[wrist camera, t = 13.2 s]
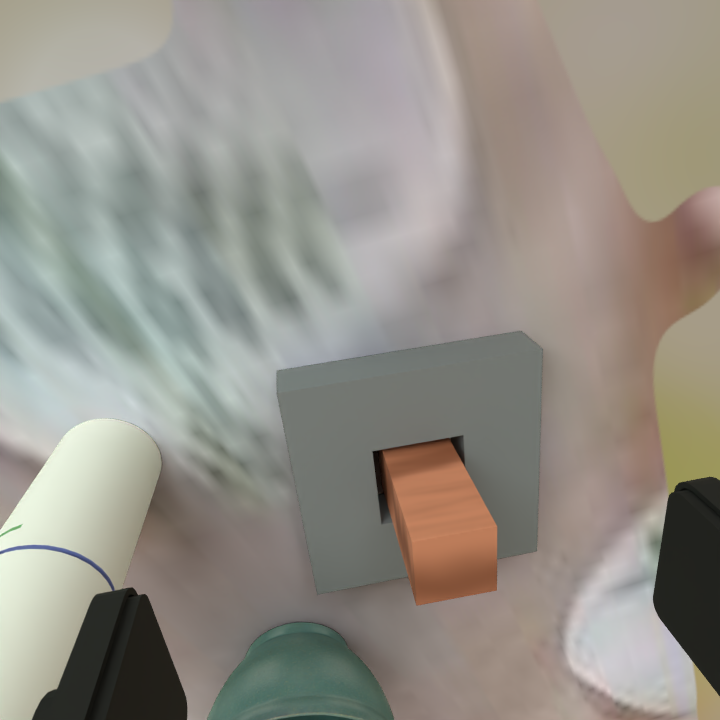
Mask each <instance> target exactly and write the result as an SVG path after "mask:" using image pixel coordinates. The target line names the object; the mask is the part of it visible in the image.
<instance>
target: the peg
mask: <svg viewBox="0 0 720 720" xmlns="http://www.w3.org/2000/svg"><path fill="white" fill-rule="evenodd" d="M378 453H379V463H380V473H381V483H382V488H383V491H384V494H385V498H386V501H387V505H388V508H389V512H390V515H391V519H392V522H393V525H394V529H395V532H396V536H397V539H398V543H399V546H400V550H401V553H402V556H403V560H404V563H405V567H406V570H407V574H408V577H409V581H410V584H411V587H412V591H413V594H414V598H415V601H416V605H422V604H428V603H433V602H438V601H443V600H449V599H454V598H459V597H464V596H470V595H475V594H480V593H485V592H491V591H496V590H497V525H496V523H495V521H494V520H493V518H492V516H491V514H490V512H489V510H488V509H487V507H486V505H485V503H484V501H483V499H482V498H481V496H480V494H479V492H478V490H477V488H476V487H475V485H474V483H473V481H472V479H471V477H470V476H469V474H468V472H467V470H466V468H465V466H464V465H463V463H462V461H461V459H460V457H459V456H458V454H457V452H456V450H455V448H454V446H453V445H452V443H451V441H450V439H449V438H445V439H439V440H433V441H428V442H422V443H416V444H411V445H405V446H399V447H394V448H388V449H382V450H378Z"/></svg>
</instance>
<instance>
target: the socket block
mask: <svg viewBox="0 0 720 720" xmlns="http://www.w3.org/2000/svg"><path fill="white" fill-rule="evenodd" d="M542 358H543V349H542V348H541V347H540V346H539V345H537V344H536V343H535V342H534V341H533V340H532V339H530V338H529V337H528V336H527V335H526V334H525V333H523V332H522V331H518V332H512V333H505V334H499V335H493V336H487V337H481V338H475V339H469V340H462V341H456V342H450V343H444V344H438V345H432V346H426V347H419V348H413V349H407V350H401V351H395V352H389V353H383V354H376V355H370V356H364V357H358V358H352V359H346V360H340V361H333V362H327V363H321V364H315V365H309V366H303V367H297V368H290V369H284V370H278V371H277V397H278V402H279V407H280V412H281V417H282V422H283V427H284V432H285V437H286V442H287V447H288V452H289V457H290V462H291V466H292V471H293V476H294V481H295V486H296V491H297V496H298V501H299V506H300V511H301V516H302V521H303V526H304V531H305V536H306V541H307V546H308V551H309V556H310V561H311V566H312V571H313V576H314V581H315V586H316V591H317V595H318V594H323V593H328V592H333V591H338V590H344V589H349V588H354V587H359V586H364V585H369V584H374V583H379V582H384V581H389V580H394V579H399V578H404V577H408V574H407V570H406V567H405V563H404V560H403V556H402V553H401V550H400V546H399V543H398V539H397V536H396V532H395V529H394V525H393V522H392V519H391V515H390V512H389V508H388V505H387V501H386V498H385V494H380V495H378V492H377V484H376V476H375V468H374V460H373V452H372V451H377V450H382V449H388V448H394V447H399V446H405V445H411V444H416V443H422V442H428V441H433V440H439V439H445V438H450V437H451V443H452V445H453V446H454V448H455V450H456V452H457V454H458V456H459V457H460V459H461V461H462V463H463V465H464V466H465V468H466V470H467V472H468V474H469V476H470V477H471V479H472V481H473V483H474V485H475V487H476V488H477V490H478V492H479V494H480V496H481V498H482V499H483V501H484V503H485V505H486V507H487V509H488V510H489V512H490V514H491V516H492V518H493V520H494V521H495V523H496V525H497V559H501V558H506V557H511V556H516V555H521V554H526V553H531V552H536V551H537V533H538V498H539V463H540V428H541V393H542Z"/></svg>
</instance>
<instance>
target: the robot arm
mask: <svg viewBox="0 0 720 720" xmlns="http://www.w3.org/2000/svg"><path fill="white" fill-rule="evenodd" d="M653 603H654V607H655V610H656V612H657V614H658V616H659V618H660V619H661V621H662V622H663V623H664V625H665V626H666V627H667V629H668V630H669V631H670V632H671V634H672V635H673V636H674V638H675V639H676V640H677V641H678V643H679V644H680V645H681V647H682V648H683V649H684V651H685V652H686V653H687V654H688V656H689V657H690V658H691V660H692V661H693V662H694V664H695V665H696V666H697V667H698V669H699V670H700V671H701V673H702V674H703V675H704V676H705V677H706V679H707V680H708V682H709V683H710V684H711V686H712V687H713V688H714V689H715V691H716V692H717V693H718V695H719V696H720V480H718V479H717V478H713V477H707V478H701V479H696V480H691V481H686V482H681V483H679V484H678V485H677V486H676V488H675V491H674V492H673V493H671V494H670V495H669V498H668V503H667V509H666V516H665V522H664V529H663V536H662V542H661V549H660V555H659V562H658V568H657V575H656V582H655V588H654V595H653ZM32 720H187V701H186V696H185V693H184V690H183V688H182V685H181V682H180V680H179V677H178V675H177V672H176V669H175V667H174V664H173V661H172V659H171V656H170V654H169V651H168V648H167V646H166V643H165V640H164V638H163V635H162V632H161V630H160V627H159V625H158V622H157V619H156V617H155V614H154V611H153V609H152V606H151V604H150V601H149V599H148V597H147V595H145V594H142V595H138V594H137V592H136V591H135V589H133V588H126V589H120V590H115V591H110V592H105V593H99V594H96V595H95V596H94V597H93V599H92V601H91V603H90V605H89V608H88V610H87V613H86V615H85V618H84V621H83V623H82V626H81V628H80V631H79V634H78V636H77V639H76V641H75V644H74V646H73V649H72V652H71V654H70V657H69V659H68V662H67V665H66V667H65V670H64V672H63V675H62V678H61V680H60V683H59V685H58V688H57V689H54V690H52V691H49V692H47V694H46V695H45V696H44V697H43V698H42V699H41V701H40V703H39V705H38V707H37V709H36V710H35V713H34V715H33V718H32Z"/></svg>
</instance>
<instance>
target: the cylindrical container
mask: <svg viewBox="0 0 720 720" xmlns="http://www.w3.org/2000/svg"><path fill="white" fill-rule="evenodd" d="M161 466H162V460H161V454H160V452H159V449H158V447H157V445H156V444H155V442H154V441H153V439H152V438H151V437H150V436H149V435H148V434H147V433H146V432H144V431H143V430H141V429H140V428H138V427H137V426H135V425H132V424H130V423H128V422H125V421H121V420H117V419H107V418H104V419H94V420H89V421H86V422H83V423H81V424H79V425H77V426H75V427H74V428H72V429H71V430H69V431H68V433H67V434H66V435H65V436H64V437H63V438H62V440H61V441H60V443H59V444H58V446H57V447H56V449H55V450H54V451H53V453H52V454H51V456H50V457H49V459H48V460H47V462H46V463H45V465H44V466H43V468H42V469H41V471H40V472H39V474H38V475H37V477H36V478H35V480H34V481H33V483H32V484H31V486H30V487H29V488H28V490H27V491H26V493H25V494H24V496H23V497H22V499H21V500H20V502H19V503H18V505H17V506H16V508H15V509H14V511H13V512H12V514H11V515H10V517H9V518H8V520H7V521H6V523H5V524H4V525H3V527H2V528H1V530H0V720H32V718H33V715H34V713H35V710H36V709H37V707H38V705H39V703H40V701H41V699H42V698H43V697H44V696H45V695H46V694H47V692H49V691H52V690H54V689H57V688H58V685H59V683H60V680H61V678H62V675H63V672H64V670H65V667H66V665H67V662H68V659H69V657H70V654H71V652H72V649H73V646H74V644H75V641H76V639H77V636H78V634H79V631H80V628H81V626H82V623H83V621H84V618H85V615H86V613H87V610H88V608H89V605H90V603H91V601H92V599H93V597H94V596H95V595H96V594H99V593H105V592H110V591H115V590H120V589H122V587H123V584H124V581H125V578H126V575H127V572H128V569H129V566H130V563H131V560H132V557H133V554H134V551H135V548H136V545H137V542H138V539H139V536H140V533H141V530H142V527H143V524H144V521H145V518H146V515H147V511H148V508H149V505H150V502H151V499H152V496H153V493H154V490H155V487H156V484H157V481H158V478H159V475H160V472H161Z"/></svg>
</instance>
